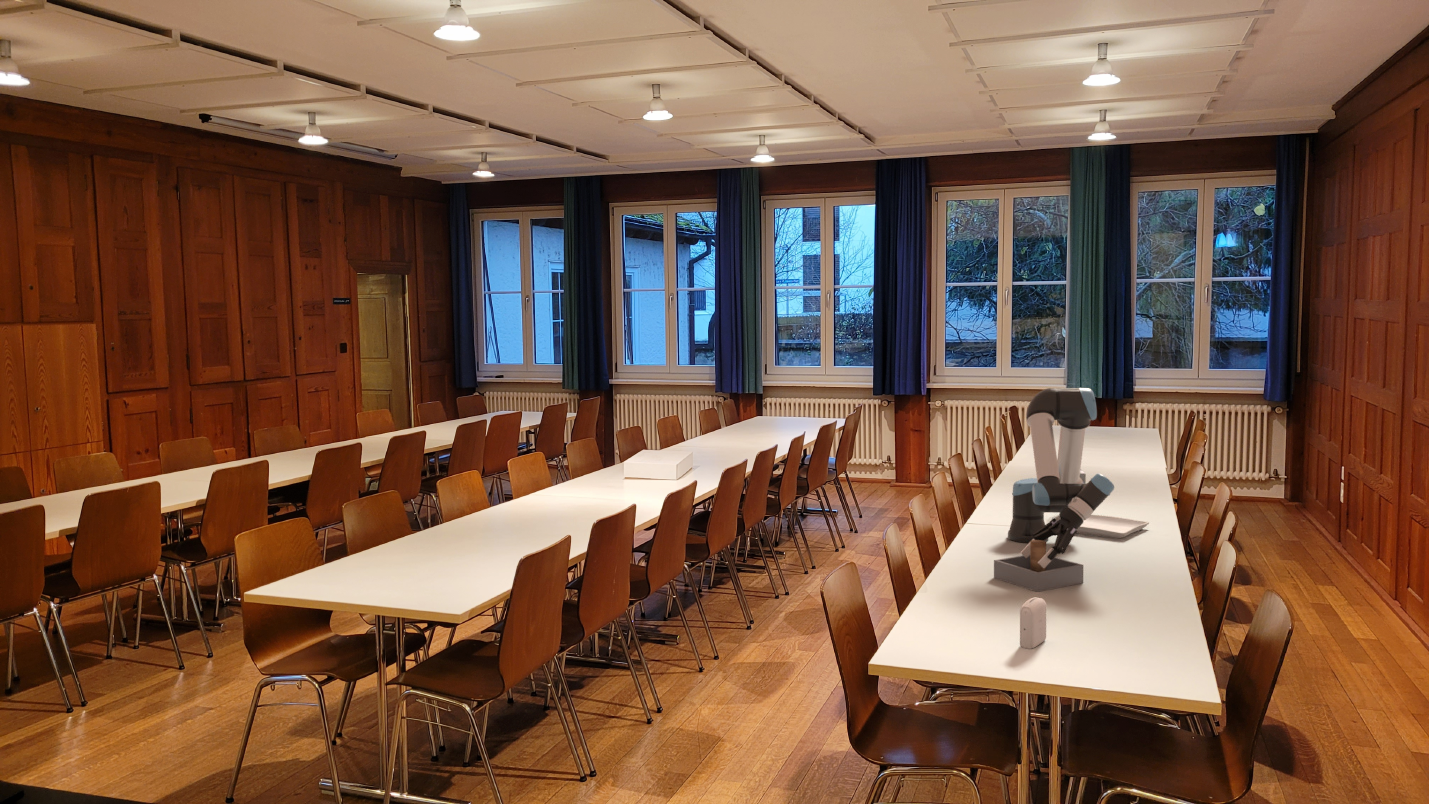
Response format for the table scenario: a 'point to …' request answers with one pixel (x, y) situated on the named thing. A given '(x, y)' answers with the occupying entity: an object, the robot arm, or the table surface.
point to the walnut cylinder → (1037, 554)
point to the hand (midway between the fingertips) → (1031, 560)
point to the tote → (1038, 573)
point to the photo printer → (1032, 623)
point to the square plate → (1110, 526)
